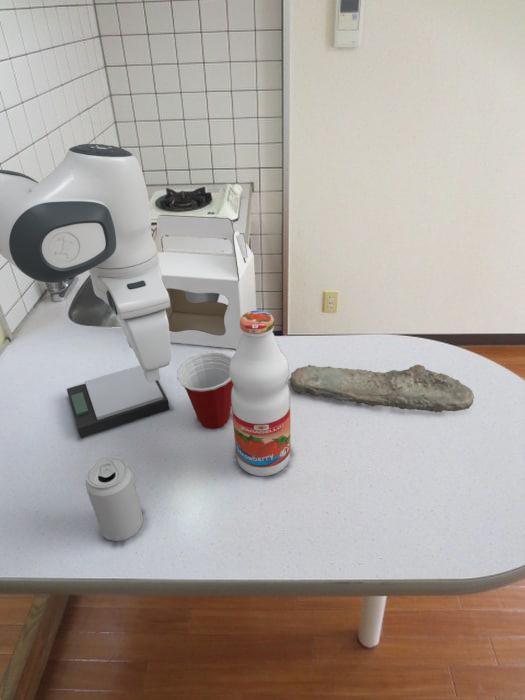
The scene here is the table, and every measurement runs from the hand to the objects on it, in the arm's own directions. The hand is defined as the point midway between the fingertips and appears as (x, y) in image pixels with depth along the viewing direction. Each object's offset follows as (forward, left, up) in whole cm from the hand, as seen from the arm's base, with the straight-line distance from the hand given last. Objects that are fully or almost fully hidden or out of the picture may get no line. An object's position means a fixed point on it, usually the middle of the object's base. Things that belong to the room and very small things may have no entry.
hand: (143, 361), depth 76 cm
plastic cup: (+12, +8, -23) cm, 27 cm away
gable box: (+22, +38, -23) cm, 50 cm away
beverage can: (-9, -8, -23) cm, 26 cm away
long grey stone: (+43, 0, -23) cm, 49 cm away
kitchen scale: (-3, +21, -23) cm, 31 cm away
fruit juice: (+16, -5, -23) cm, 28 cm away
